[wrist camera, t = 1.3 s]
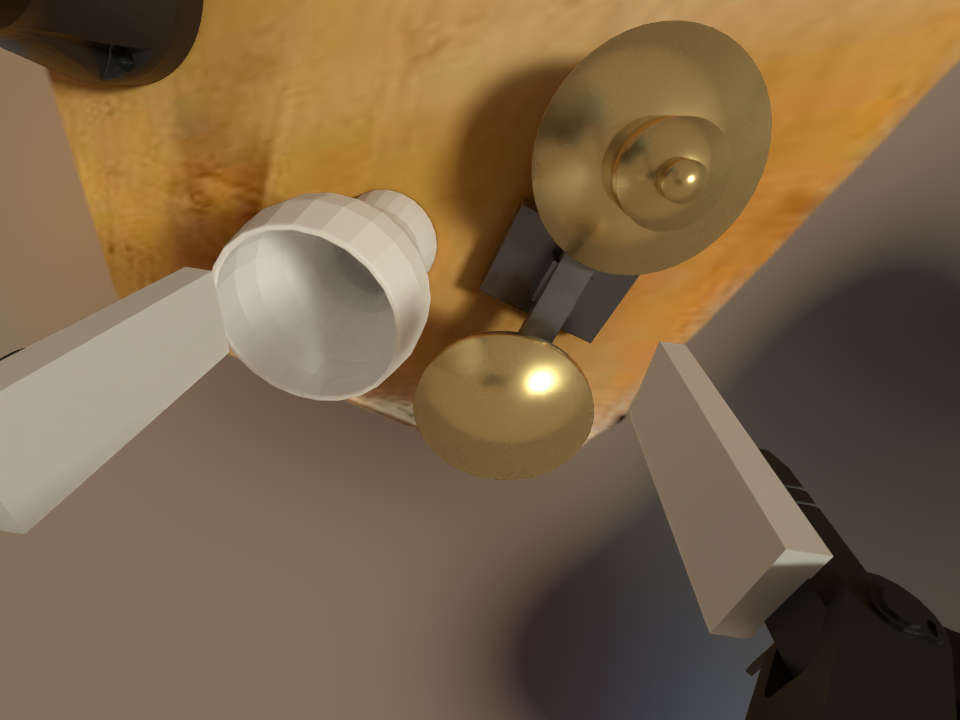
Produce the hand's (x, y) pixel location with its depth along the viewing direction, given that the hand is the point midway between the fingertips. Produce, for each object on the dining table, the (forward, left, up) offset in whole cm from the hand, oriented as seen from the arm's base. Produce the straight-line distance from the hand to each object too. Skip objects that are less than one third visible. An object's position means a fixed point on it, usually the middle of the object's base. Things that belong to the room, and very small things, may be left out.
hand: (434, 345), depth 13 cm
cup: (-6, -6, -22) cm, 23 cm away
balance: (+7, -2, -22) cm, 23 cm away
